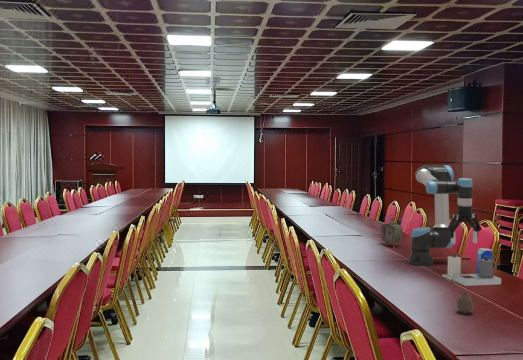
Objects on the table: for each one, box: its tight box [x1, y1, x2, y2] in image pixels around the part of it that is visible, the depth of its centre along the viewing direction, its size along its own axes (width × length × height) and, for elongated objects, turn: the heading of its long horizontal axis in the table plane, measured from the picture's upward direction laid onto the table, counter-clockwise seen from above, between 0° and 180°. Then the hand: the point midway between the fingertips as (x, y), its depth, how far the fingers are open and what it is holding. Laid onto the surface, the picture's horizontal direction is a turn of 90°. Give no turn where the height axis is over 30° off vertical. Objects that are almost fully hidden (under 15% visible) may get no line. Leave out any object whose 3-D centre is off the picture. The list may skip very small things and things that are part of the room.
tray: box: [441, 273, 453, 281], centre depth 278 cm, size 9×9×2 cm
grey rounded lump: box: [456, 291, 474, 315], centre depth 217 cm, size 7×7×9 cm
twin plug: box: [479, 256, 494, 278], centre depth 269 cm, size 5×5×14 cm
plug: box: [447, 252, 462, 278], centre depth 278 cm, size 5×5×14 cm
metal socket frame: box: [452, 273, 502, 287], centre depth 268 cm, size 12×21×4 cm, turn 100°
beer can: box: [476, 247, 494, 274], centre depth 284 cm, size 8×8×16 cm
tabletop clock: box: [381, 214, 403, 249], centre depth 384 cm, size 14×9×25 cm, turn 25°
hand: (464, 243), depth 276 cm, fingers open, 13 cm apart
